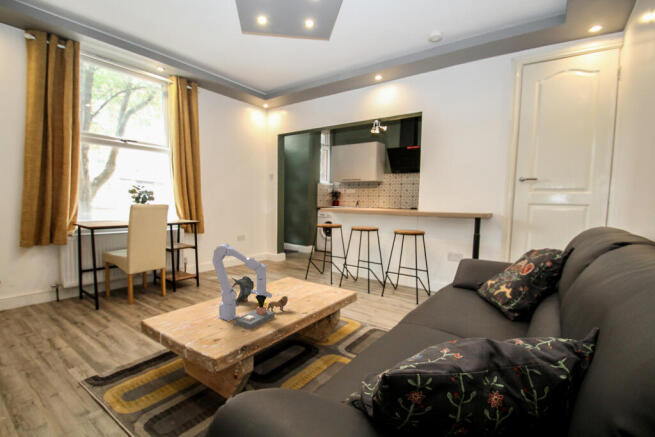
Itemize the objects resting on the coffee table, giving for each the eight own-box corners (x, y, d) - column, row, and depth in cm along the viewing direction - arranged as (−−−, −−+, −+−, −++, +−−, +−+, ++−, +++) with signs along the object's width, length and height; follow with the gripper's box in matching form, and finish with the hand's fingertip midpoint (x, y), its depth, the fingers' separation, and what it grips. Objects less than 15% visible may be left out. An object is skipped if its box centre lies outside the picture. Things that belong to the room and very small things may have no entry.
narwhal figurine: (255, 304, 202) (255, 278, 200) (231, 307, 196) (231, 280, 195) (252, 297, 215) (252, 273, 213) (229, 300, 209) (229, 274, 208)
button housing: (235, 324, 171) (234, 319, 171) (259, 312, 188) (259, 308, 188) (250, 329, 165) (250, 324, 165) (274, 317, 182) (274, 312, 182)
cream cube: (244, 324, 172) (244, 317, 171) (249, 321, 175) (249, 314, 175) (249, 325, 170) (249, 318, 169) (254, 323, 173) (254, 316, 173)
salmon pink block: (256, 314, 180) (256, 307, 180) (261, 311, 184) (261, 305, 183) (261, 315, 178) (261, 308, 178) (266, 313, 182) (266, 306, 181)
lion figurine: (285, 307, 198) (286, 294, 197) (289, 310, 193) (289, 296, 193) (264, 311, 190) (264, 297, 190) (267, 314, 186) (267, 300, 185)
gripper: (247, 284, 179) (247, 306, 180) (266, 288, 173) (266, 311, 174) (255, 281, 186) (255, 303, 187) (274, 285, 179) (274, 307, 180)
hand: (261, 307), depth 181 cm, fingers closed
